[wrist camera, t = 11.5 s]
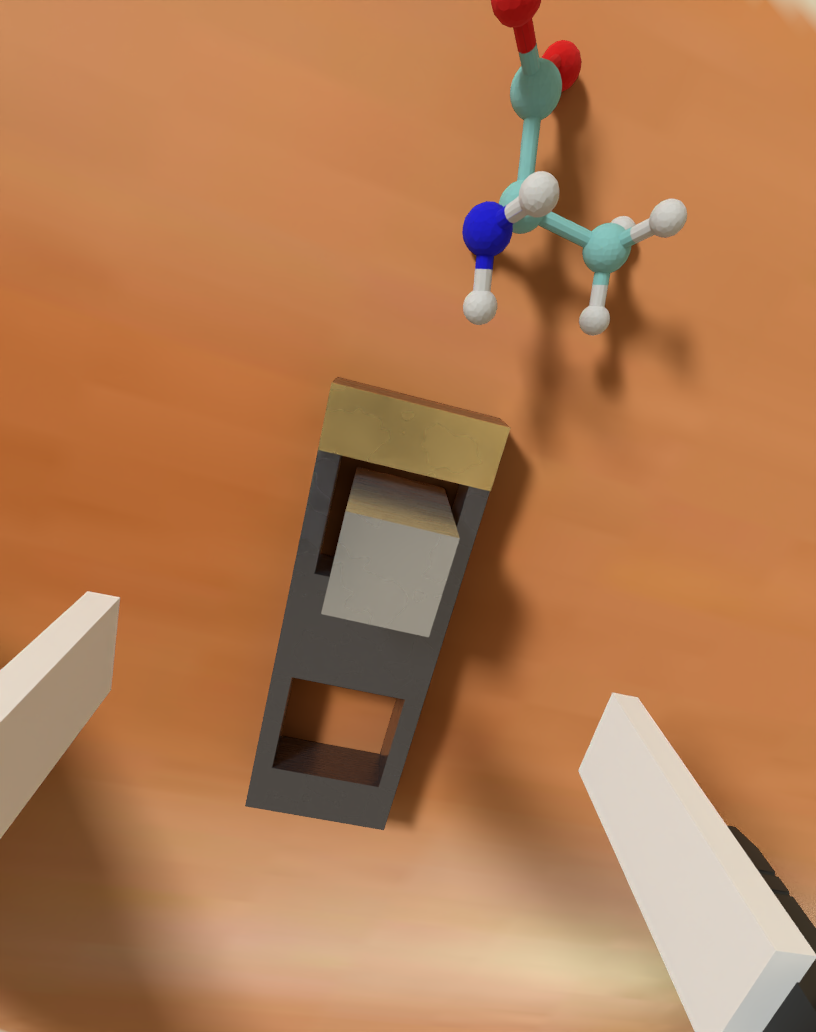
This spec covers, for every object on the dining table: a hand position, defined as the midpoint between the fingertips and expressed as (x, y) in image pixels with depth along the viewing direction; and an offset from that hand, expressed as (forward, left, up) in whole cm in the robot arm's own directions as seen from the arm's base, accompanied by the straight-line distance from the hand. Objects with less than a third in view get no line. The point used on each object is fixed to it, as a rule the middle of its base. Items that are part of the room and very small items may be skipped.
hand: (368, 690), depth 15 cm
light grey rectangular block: (0, 0, -15) cm, 15 cm away
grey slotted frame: (0, -6, -14) cm, 16 cm away
